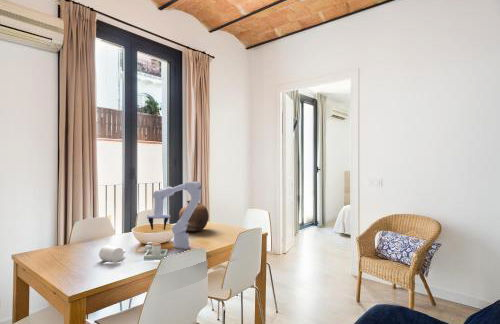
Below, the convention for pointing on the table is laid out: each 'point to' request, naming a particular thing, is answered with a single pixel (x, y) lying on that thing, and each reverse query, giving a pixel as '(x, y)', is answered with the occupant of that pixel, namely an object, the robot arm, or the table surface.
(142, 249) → the clip board
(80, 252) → the table surface
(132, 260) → the table surface
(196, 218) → the pottery
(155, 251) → the white and orange block
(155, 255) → the tray
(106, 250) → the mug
